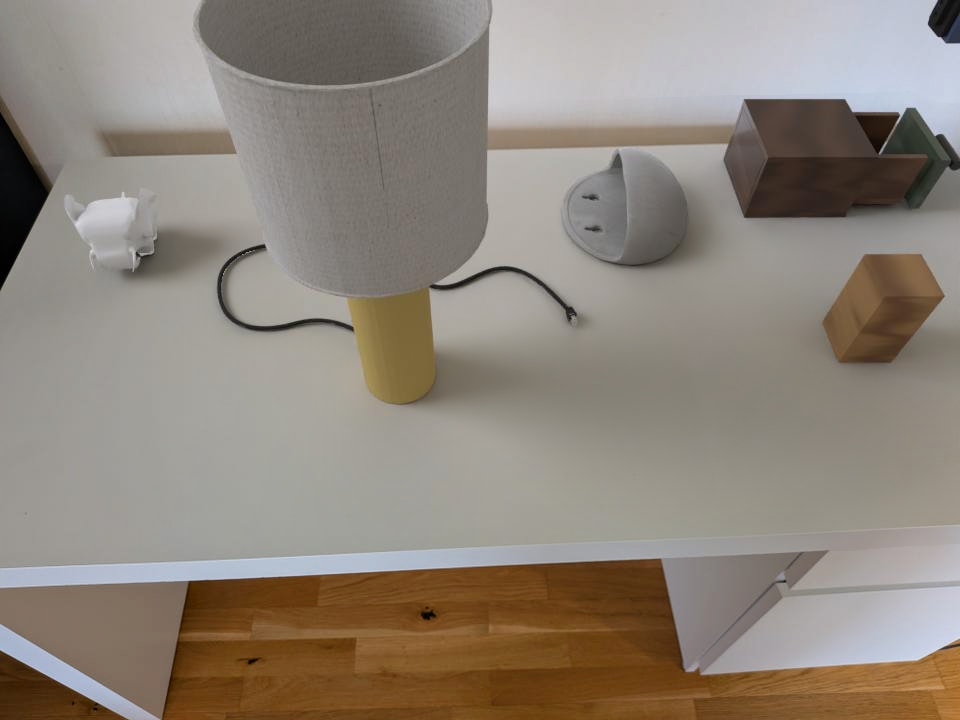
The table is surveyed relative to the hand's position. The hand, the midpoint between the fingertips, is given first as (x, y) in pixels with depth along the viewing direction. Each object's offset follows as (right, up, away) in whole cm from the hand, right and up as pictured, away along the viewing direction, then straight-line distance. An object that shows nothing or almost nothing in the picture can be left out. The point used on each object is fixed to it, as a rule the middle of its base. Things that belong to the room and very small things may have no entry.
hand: (959, 29), depth 73 cm
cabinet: (-10, -12, +21) cm, 26 cm away
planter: (-33, -17, +17) cm, 41 cm away
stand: (-9, -34, +5) cm, 35 cm away
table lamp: (-61, -31, +6) cm, 69 cm away
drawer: (+3, -11, +21) cm, 24 cm away
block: (0, 0, 0) cm, 1 cm away
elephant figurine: (-96, -22, +13) cm, 99 cm away
